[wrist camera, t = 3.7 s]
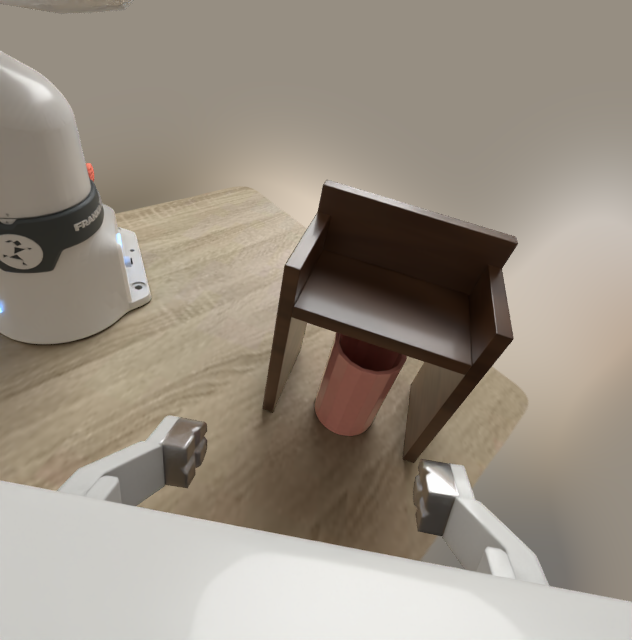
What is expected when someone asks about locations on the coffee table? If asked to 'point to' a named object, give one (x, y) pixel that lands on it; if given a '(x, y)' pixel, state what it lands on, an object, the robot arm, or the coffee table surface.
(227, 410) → the coffee table surface
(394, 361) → the cup
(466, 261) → the dark wooden stand
